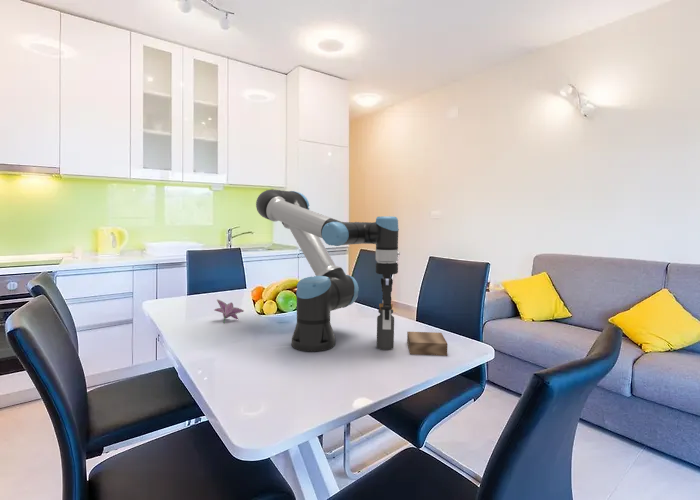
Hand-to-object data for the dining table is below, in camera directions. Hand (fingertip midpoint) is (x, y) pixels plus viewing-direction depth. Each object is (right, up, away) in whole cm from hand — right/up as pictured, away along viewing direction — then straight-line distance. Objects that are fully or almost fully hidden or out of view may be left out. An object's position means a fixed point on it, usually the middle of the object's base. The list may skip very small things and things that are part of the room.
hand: (386, 323), depth 128 cm
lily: (-64, -6, +31) cm, 72 cm away
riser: (+14, -9, 0) cm, 16 cm away
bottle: (0, -9, +1) cm, 9 cm away
